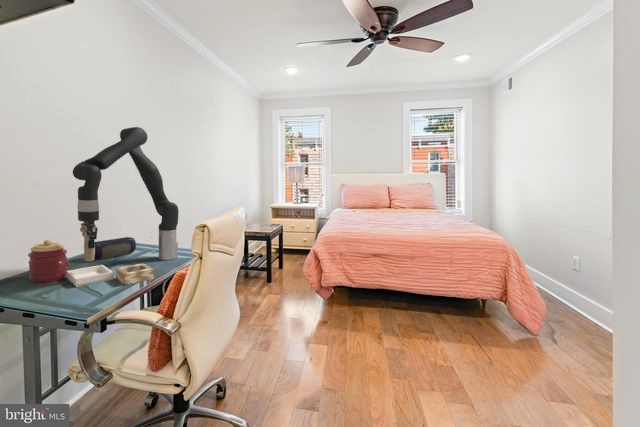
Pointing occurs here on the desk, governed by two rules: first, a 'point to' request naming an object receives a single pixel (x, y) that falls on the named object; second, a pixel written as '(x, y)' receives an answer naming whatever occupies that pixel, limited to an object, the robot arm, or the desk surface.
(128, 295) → the desk surface
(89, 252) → the handle
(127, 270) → the socket block
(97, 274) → the tray
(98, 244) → the portable speaker
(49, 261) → the canister
